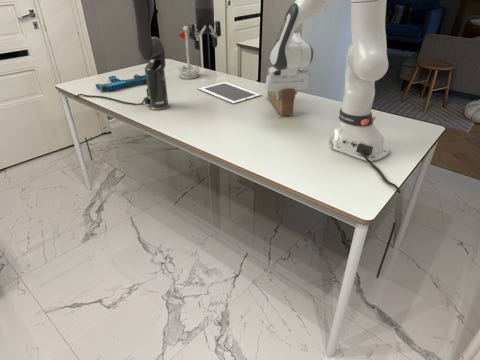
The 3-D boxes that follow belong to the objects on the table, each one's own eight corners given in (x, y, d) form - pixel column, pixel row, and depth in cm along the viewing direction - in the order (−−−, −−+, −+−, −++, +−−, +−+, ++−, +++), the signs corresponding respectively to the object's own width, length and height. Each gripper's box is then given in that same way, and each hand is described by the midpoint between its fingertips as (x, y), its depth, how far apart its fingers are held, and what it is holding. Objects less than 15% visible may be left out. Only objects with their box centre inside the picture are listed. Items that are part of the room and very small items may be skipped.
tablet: (198, 89, 198) (198, 88, 197) (225, 82, 209) (225, 81, 209) (233, 103, 177) (233, 103, 177) (261, 95, 188) (261, 94, 188)
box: (292, 114, 163) (295, 90, 156) (281, 115, 162) (282, 90, 155) (277, 95, 185) (279, 73, 178) (267, 96, 184) (268, 74, 178)
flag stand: (196, 72, 226) (193, 23, 210) (202, 77, 216) (198, 27, 200) (177, 74, 223) (172, 25, 206) (181, 80, 212) (177, 28, 196)
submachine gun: (140, 69, 224) (158, 75, 207) (141, 74, 225) (159, 81, 209) (88, 79, 205) (103, 86, 188) (89, 85, 207) (105, 93, 190)
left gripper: (213, 4, 144) (215, 44, 153) (184, 7, 137) (187, 49, 146) (223, 6, 139) (224, 47, 148) (193, 8, 132) (196, 52, 141)
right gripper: (307, 66, 158) (304, 95, 166) (265, 68, 155) (263, 97, 163) (312, 70, 153) (308, 99, 160) (268, 72, 150) (266, 102, 157)
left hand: (206, 48), depth 147 cm, fingers open, 8 cm apart
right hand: (285, 98), depth 162 cm, fingers closed on box, 6 cm apart
